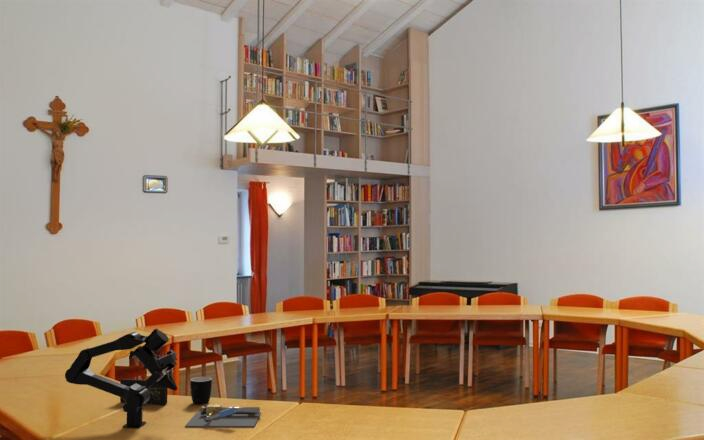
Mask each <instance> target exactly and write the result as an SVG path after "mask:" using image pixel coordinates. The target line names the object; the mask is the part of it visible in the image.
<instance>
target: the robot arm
mask: <svg viewBox="0 0 704 440" xmlns="http://www.w3.org/2000/svg"><path fill="white" fill-rule="evenodd" d="M169 341H170V340H169V337H168V335H167V334H166V333H164V332H163V331H161V330H159V329H158V328H154V329H153V330H152V332H151V333H150V334H149V335H144V334H143V335H142V334H140V333H139V332H138V331H133V332H129V333H127V334H125V335H122V336H121V337H119V338H117V339H115V340H112V341H109V342H106V343H102V344H99V345H96V346H93V347H87V348H84V349H82V350H80V351H79V354H78V355H77V357H76V358H75V360H74V361H73V362H72V364H71V365H70V367H69V368H68V369H67V370H66V371H65V373H64V378H65V381H66V382H67V383H69V384H72V385H78V386H79V385H80V386H81V385H85V386H89V387H92V388H94V389H98V390H100V391H103V392H106V393H108V394H111V395H114V396H116V397H119V398H120V397H121V398H123V400H124V401H125V402H126V403H124V405H123V406H122V410H123V412H124V413H126V423H125V424H124V425H122V428H130V429H131V428H133V429H134V428H135V429H139V428H141V427H142V426H144V425H146V424H147V421H143V416H144V415H143V409H144V407H145V406H146V405H147V404H146V402H147V401H148V400H149V399H150V392H149V390H148V389H146V388H145V387H146V386H141V385H139V384H137V383H135V384H134V385H132V386H126V385H123V384H120V382H117V381H116V380H115V381H114V380H112V379H109V378H106V377H104V376H101V375H99V374H96V373H94V372H93V370H92V369H91V368H89V367H90V365H91V362H92V359H93V358H95V357H98V356H102V355H104V354H105V355H106V354H109V353H111V352H115V351H128V350H130V351H129V358H128V359H129V360H131V359H133V358H136V359H137V360H138V361H139V362H140V363H141V365H142V366H143V367H142V369H143V370H147V371H148V372H149V373H150V376H149V377H148V378H147V379H145V380H146V381H145V384H146V385H147V386H148V388H149V387H150V386H152V385H153V383H155V382H156V381H158V382H157V383H156V385H157V384H158V385H161V386H164V387H167V389H170V390H172V391H174V392H175V391H177V390H178V389H179V388H178V386H177V384H176V381H175V379H174V376H173V371H174V367H176V366H177V364H178V363H177V362H176V361H177V360H178V357H177V355H178V353H177V352H176V351H174V350H173V349H170V350H167V352H166V355H164V356H161V355H160V354H155V352H158V351H159V350H161V348H163V347H164V346H165V345H166V344H167V343H168V342H169ZM141 345H142V346H141ZM136 347H137V348H136ZM134 348H136V349H134ZM132 349H134V350H132Z"/></svg>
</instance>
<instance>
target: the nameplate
mask: <svg viewBox="0 0 704 440" xmlns="http://www.w3.org/2000/svg"><path fill="white" fill-rule="evenodd" d="M146 380H147V379H140V378H139V379H137V378H123V379H121V380H120V382H119V383H120V384H123V385H126V386H132V385H134V384H135V383H137V384H139V385H141V386H146V387H145V388H146V389H148V390H149V392H150V399H149V400H148V401H147V402H146V404H145V405H152V406H153V405H154V406H165V405H167V404H168V388H167V387H164V386H161V385H158V384H157V385H156V383H157V382H158V381H156V382H155V383H153V385H152V386H150V387H149V388H148V386H147V385H146V384H145V381H146ZM119 400H120V403H121V404H126V402H125V401H124V400H123V398H121V397H119Z"/></svg>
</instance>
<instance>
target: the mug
mask: <svg viewBox="0 0 704 440" xmlns="http://www.w3.org/2000/svg"><path fill="white" fill-rule="evenodd" d="M212 380H213V379H212V377H209V376H196V377H192V378H191V379H190V384H189V385H190V397H191V401H192V403H193V404H194V405H199V406H201V405H202V406H203V405H206V404H207V405H208V403H209V402H210V399H211V394H212V388H213V387H212V384H213V381H212Z"/></svg>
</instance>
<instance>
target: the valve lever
mask: <svg viewBox="0 0 704 440" xmlns="http://www.w3.org/2000/svg"><path fill="white" fill-rule="evenodd" d="M231 407H232V408H229V409H226V410H223V411H220V412H219V414H216V415H213V416H206V417H205V419H204V420H205V422H209V421H210V419H213V418H217V417H220V418H222V417H225V416H228V415H231V414H234V413H236V409H235V407H236V406H231Z"/></svg>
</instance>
